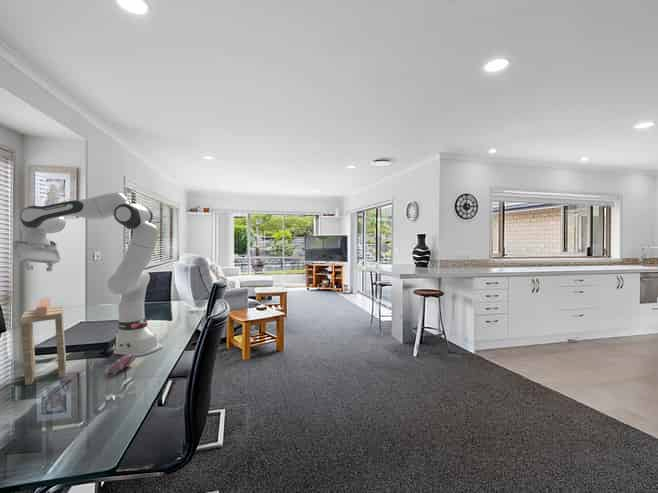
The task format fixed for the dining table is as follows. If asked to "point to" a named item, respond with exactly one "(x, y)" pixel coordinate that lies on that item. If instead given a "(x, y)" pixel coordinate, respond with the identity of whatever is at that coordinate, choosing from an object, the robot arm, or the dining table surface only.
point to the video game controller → (122, 363)
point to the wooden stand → (29, 340)
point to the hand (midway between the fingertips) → (40, 270)
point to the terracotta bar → (43, 306)
